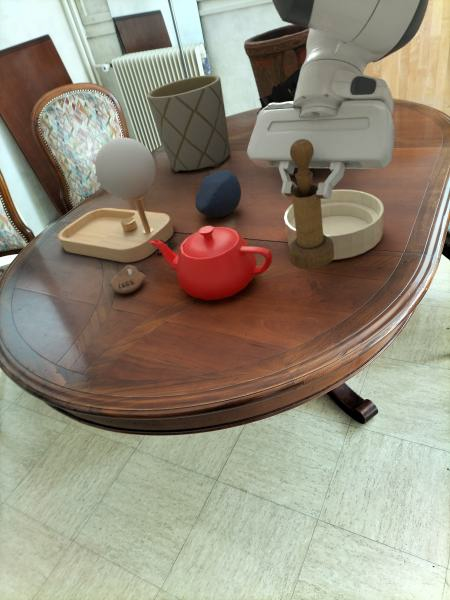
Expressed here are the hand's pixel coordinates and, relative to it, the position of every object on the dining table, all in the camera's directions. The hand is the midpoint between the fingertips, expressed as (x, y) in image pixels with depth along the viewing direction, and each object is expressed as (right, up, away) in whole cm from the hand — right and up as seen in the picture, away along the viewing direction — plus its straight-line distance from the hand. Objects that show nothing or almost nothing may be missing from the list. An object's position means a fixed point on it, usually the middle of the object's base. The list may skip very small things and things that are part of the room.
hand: (305, 196), depth 58 cm
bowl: (+12, -1, +29) cm, 32 cm away
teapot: (-13, -11, +25) cm, 30 cm away
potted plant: (+14, +22, +59) cm, 64 cm away
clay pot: (+14, +45, +88) cm, 100 cm away
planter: (-19, +32, +82) cm, 90 cm away
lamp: (-37, +1, +48) cm, 61 cm away
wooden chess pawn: (+2, -8, +7) cm, 11 cm away
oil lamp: (-31, -11, +31) cm, 45 cm away
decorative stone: (-12, +7, +48) cm, 50 cm away
